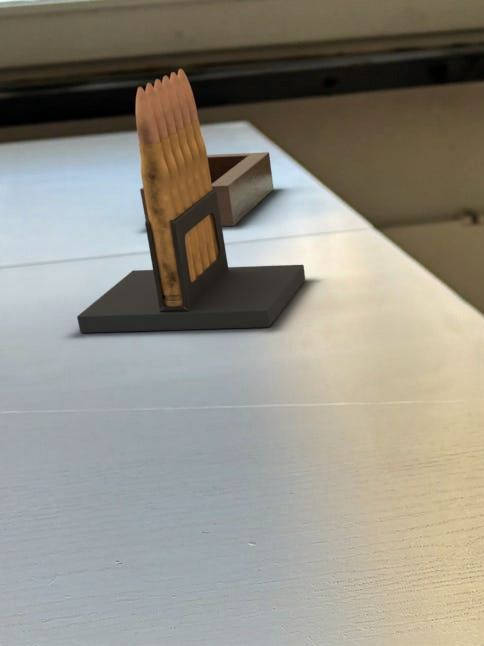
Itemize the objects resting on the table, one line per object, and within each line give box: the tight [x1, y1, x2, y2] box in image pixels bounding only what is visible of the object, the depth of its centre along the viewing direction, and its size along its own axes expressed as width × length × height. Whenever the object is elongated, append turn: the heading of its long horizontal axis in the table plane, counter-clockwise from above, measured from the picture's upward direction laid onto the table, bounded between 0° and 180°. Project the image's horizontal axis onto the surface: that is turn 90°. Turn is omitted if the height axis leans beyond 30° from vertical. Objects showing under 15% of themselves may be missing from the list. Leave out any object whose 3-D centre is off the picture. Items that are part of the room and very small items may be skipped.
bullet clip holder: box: [139, 151, 275, 228], centre depth 114 cm, size 7×16×3 cm, turn 175°
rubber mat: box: [76, 264, 306, 334], centre depth 88 cm, size 12×12×1 cm
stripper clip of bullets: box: [135, 68, 229, 312], centre depth 84 cm, size 11×2×12 cm, turn 175°
